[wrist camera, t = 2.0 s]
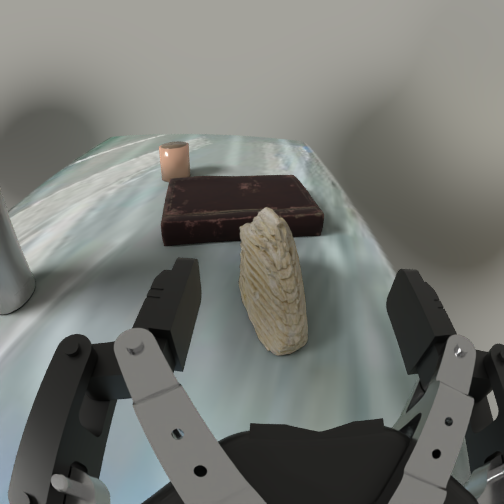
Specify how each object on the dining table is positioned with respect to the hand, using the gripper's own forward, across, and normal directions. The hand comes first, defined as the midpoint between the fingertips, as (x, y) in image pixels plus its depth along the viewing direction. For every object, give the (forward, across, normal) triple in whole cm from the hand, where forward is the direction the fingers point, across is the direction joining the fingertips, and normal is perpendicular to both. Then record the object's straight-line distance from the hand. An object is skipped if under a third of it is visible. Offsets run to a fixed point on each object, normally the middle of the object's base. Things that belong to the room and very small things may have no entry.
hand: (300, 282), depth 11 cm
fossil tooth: (+15, 0, +17) cm, 23 cm away
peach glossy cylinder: (+55, +23, +16) cm, 62 cm away
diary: (+38, +6, +17) cm, 42 cm away
